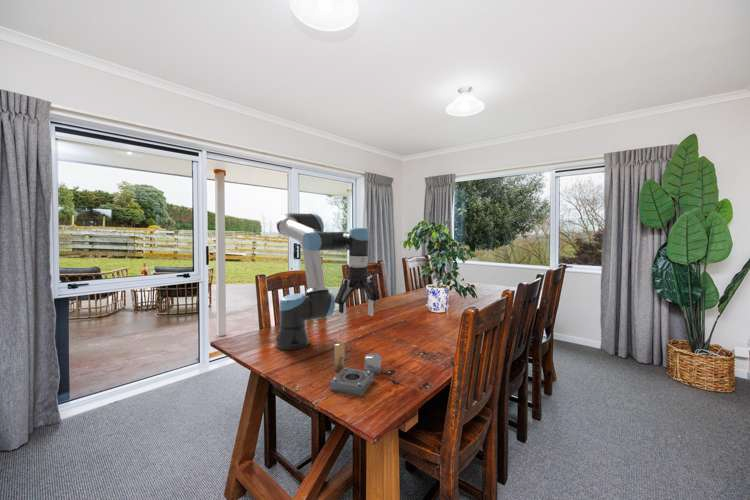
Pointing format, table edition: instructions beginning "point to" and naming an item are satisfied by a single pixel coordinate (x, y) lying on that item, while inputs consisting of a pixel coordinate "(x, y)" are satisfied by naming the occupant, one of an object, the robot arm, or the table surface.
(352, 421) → the table surface
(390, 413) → the table surface
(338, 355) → the brass peg
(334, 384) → the flange socket
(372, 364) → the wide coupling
